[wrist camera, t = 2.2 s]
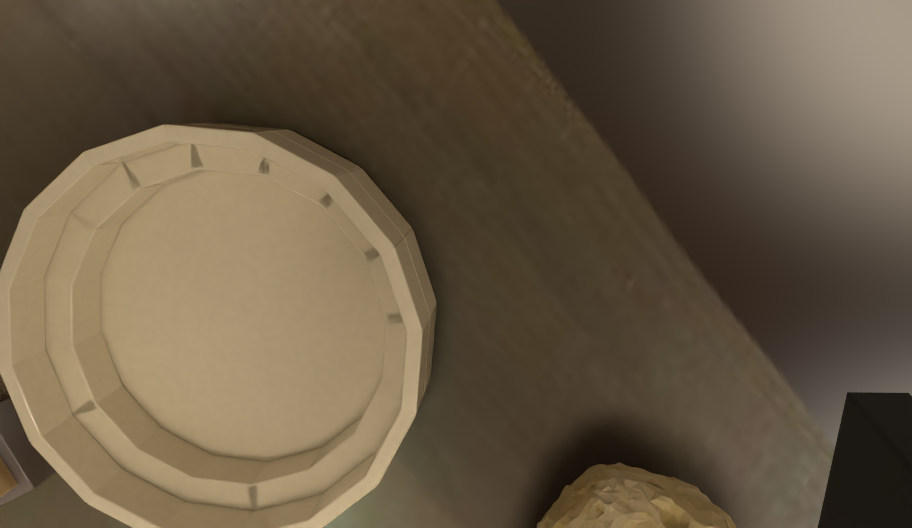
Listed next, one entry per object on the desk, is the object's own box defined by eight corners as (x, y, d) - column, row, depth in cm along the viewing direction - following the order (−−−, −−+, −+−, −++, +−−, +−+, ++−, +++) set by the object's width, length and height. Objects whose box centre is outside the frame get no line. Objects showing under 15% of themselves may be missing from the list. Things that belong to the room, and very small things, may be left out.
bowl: (14, 191, 34) (-73, 204, 29) (364, 72, 31) (334, 65, 26) (150, 524, 36) (91, 589, 31) (484, 438, 34) (476, 493, 29)
